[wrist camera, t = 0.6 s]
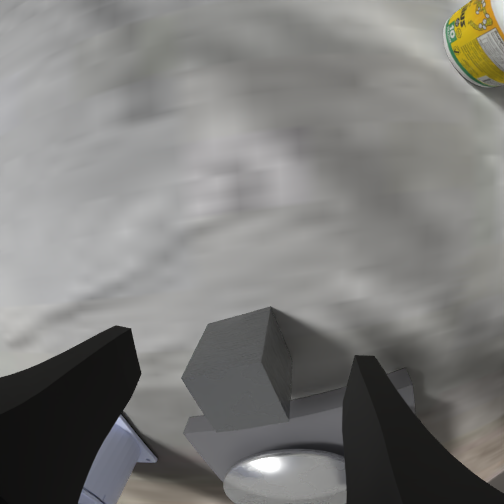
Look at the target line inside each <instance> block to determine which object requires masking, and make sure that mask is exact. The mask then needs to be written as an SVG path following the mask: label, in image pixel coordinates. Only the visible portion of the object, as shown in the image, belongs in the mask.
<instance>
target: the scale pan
mask: <svg viewBox="0 0 504 504" xmlns="http://www.w3.org/2000/svg"><path fill="white" fill-rule="evenodd" d="M223 487H224V491H225V493H226V495H227V496H228V497H229V499H230V500H231V501H233V502H234V503H235V504H346V500H347V487H346V472H345V459H344V456H341V455H338V454H335V453H331V452H326V451H320V450H312V449H281V450H273V451H267V452H261V453H258V454H254V455H251V456H248V457H245V458H243V459H241V460H239V461H238V462H236V463H234V464H233V465H232V466H231V467H230V468H229V469H228V471H227V473H226V475H225V479H224V485H223Z"/></svg>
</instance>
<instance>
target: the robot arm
mask: <svg viewBox="0 0 504 504" xmlns="http://www.w3.org/2000/svg"><path fill="white" fill-rule="evenodd" d="M140 376H141V370H140V366H139V362H138V358H137V353H136V349H135V345H134V340H133V336H132V331H131V328H126V327H121V326H114V327H112V328H109V329H107V330H105V331H103V332H101V333H99V334H97V335H95V336H94V337H92V338H90V339H88V340H86V341H84V342H82V343H80V344H79V345H77V346H75V347H73V348H71V349H69V350H67V351H65V352H63V353H61V354H59V355H57V356H55V357H53V358H51V359H49V360H47V361H45V362H42V363H40V364H38V365H36V366H33V367H31V368H28V369H26V370H23V371H20V372H17V373H14V374H11V375H8V376H4V377H1V378H0V504H116V503H117V501H118V499H119V497H120V495H121V493H122V491H123V489H124V487H125V485H126V483H127V481H128V479H129V476H130V474H131V472H132V470H133V468H134V466H135V464H136V462H147V463H156V462H157V458H156V456H155V455H154V454H153V453H152V452H151V451H150V450H149V448H148V447H147V446H146V445H145V444H144V442H143V441H142V440H141V439H140V438H139V436H138V435H137V434H136V433H135V431H134V430H133V429H132V428H131V426H130V425H129V424H128V423H127V421H126V420H125V419H124V417H123V416H122V415H121V413H122V411H123V410H124V408H125V407H126V405H127V403H128V402H129V400H130V398H131V396H132V394H133V392H134V390H135V388H136V385H137V383H138V381H139V378H140ZM342 435H343V447H344V459H345V472H346V487H347V500H346V504H504V493H502V492H500V491H499V490H497V489H496V488H494V487H493V486H490V484H488V483H487V482H485V481H484V480H482V479H481V478H479V477H478V476H477V475H475V474H474V473H473V472H471V471H470V470H469V469H468V468H467V467H465V466H464V465H463V464H462V463H461V462H459V461H458V460H457V459H456V458H455V457H454V456H453V455H451V454H450V453H449V452H448V451H447V450H446V449H445V448H444V447H443V446H442V445H441V444H440V443H439V442H438V441H437V440H436V439H435V438H434V437H433V436H432V434H431V433H430V432H429V431H428V430H427V429H426V428H425V426H424V425H423V424H422V423H421V421H420V420H419V419H418V418H417V416H416V415H415V414H414V413H413V411H412V410H411V409H410V407H409V406H408V405H407V403H406V402H405V400H404V399H403V398H402V396H401V395H400V394H399V392H398V391H397V389H396V388H395V386H394V385H393V383H392V382H391V380H390V379H389V377H388V376H387V374H386V373H385V371H384V370H383V368H382V367H381V365H380V364H379V362H378V360H377V359H376V358H375V356H360V355H355V357H354V361H353V365H352V369H351V373H350V376H349V380H348V384H347V388H346V391H345V395H344V398H343V408H342Z"/></svg>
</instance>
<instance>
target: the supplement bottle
mask: <svg viewBox="0 0 504 504" xmlns="http://www.w3.org/2000/svg"><path fill="white" fill-rule="evenodd" d="M443 38H444V46H445V50H446V52H447V55H448V57H449V59H450V61H451V62H452V64H453V65H454V67H455V68H456V69H457V70H458V71H459V73H460V74H462V75H463V76H464V77H465V78H466V79H467V80H469V81H470V82H472V83H474V84H476V85H478V86H481V87H486V88H491V87H497V86H501V85H504V0H471V1H470V2H469V3H467V4H466V5H465V6H463V7H462V8H461V9H459V10H458V11H457V12H456V13H454V14H453V15H452V16H451V17H450V18H449V19H448V20H447V21H446V23H445V25H444V29H443Z"/></svg>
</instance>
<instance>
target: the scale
mask: <svg viewBox="0 0 504 504" xmlns="http://www.w3.org/2000/svg"><path fill="white" fill-rule="evenodd" d="M387 376H388V377H389V379H390V380H391V382H392V383H393V385H394V386H395V388H396V389H397V391H398V392H399V394H400V395H401V396H402V398H403V399H404V400H405V402H406V403H407V405H408V406H409V407H410V409H411V410H412V411H413V413H414V414H415V402H414V391H413V384H412V381H411V379H410V377H409V374H408V372H407V370H406V368H404V369H401V370H398V371H395V372H392V373H389V374H387ZM346 388H347V387H344V388H340V389H336V390H333V391H329V392H325V393H321V394H317V395H313V396H309V397H305V398H301V399H296V400H292V401H290V419H289V422H284V423H279V424H273V425H268V426H262V427H255V428H249V429H242V430H234V431H226V432H217V433H216V431H215V430H214V428H213V427H212V425H211V424H210V423H209V421H208V420H207V418H206V417H205V415H204V416H196V417H189V420H188V422H187V425H186V427H185V430H184V433H183V434H184V435H185V436H186V438H187V439H188V440H189V442H190V443H191V444H192V446H193V447H194V448H195V449H196V451H197V452H198V453H199V454H200V456H201V457H202V458H203V459H204V461H205V462H206V463H207V464H208V465H209V467H210V468H211V469H212V470H213V471H214V473H215V474H216V475H217V476H218V477H219V478H220V480H221V481H222V482H223V483H224V479H225V475H226V473H227V471H228V469H229V468H230V467H231V466H232V465H233V464H234V463H236V462H238V461H239V460H241V459H243V458H245V457H248V456H251V455H254V454H258V453H261V452H267V451H273V450H281V449H312V450H320V451H326V452H331V453H335V454H338V455H341V456H344V447H343V435H342V408H343V398H344V395H345V391H346ZM415 415H416V414H415Z"/></svg>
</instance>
